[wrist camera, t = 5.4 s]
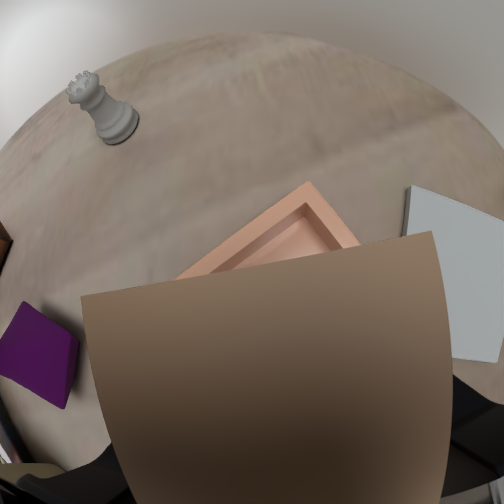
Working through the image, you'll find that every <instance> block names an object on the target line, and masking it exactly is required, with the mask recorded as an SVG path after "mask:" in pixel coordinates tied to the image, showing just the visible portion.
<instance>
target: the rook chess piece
mask: <svg viewBox="0 0 504 504" xmlns="http://www.w3.org/2000/svg"><path fill="white" fill-rule="evenodd" d="M83 75H84V76H82V75H81V74H78V75H77V76H76V79H77V81H76V82H75V83H74V82H73V81H71V82H70V83H69V85H68V86H69V87H70V88H71V89H70V88H68V89H66V93H67V94H68V95H69V102H70V103H71V104H76V103H79V104H80V108H81V109H82V110H86V111H87V112H88V113H89V114H90V116H91V117H92V118H93V120H94V122H95V127H96V131H97V134H98V135H99V137H100V138H101V139H102V140H103V141H104V142H105V143H107V144H115V143H119V142H122V141H123V140H125V139H126V138H128V137H129V136H130V135H131V134H132V133H133V131H134V129H135V127H136V125H137V120H138V114H137V111H136V110H135V109H133V108H132V106H131V105H129V104H128V103H126V102H121V101H116V100H115V99H113V98H112V97H111V96H109V95H108V94H107V92H106V91H105V87H104V86H103V85H99V76H98V75H97V74H91V73H90V72H88V71H84V72H83Z"/></svg>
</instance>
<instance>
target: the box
mask: <svg viewBox="0 0 504 504" xmlns="http://www.w3.org/2000/svg"><path fill="white" fill-rule="evenodd" d="M359 245H361V244H360V243H359V242H358V240H357V239H356V238H355V237H354V235H353V234H352V233H351V231H350V230H349V229H348V228H347V226H346V225H345V224H344V223H343V221H342V220H341V219H340V218H339V216H338V215H337V214H336V213H335V211H334V210H333V209H332V208H331V207H330V205H329V204H328V203H327V202H326V201H325V199H324V198H323V197H322V196H321V195H320V193H319V192H318V191H317V190H316V189H315V188H314V186H313V185H312V184H311V183H310V182H309V181H307V182H305V183H304V184H303V185H301V186H300V187H298V188H297V189H296V190H294V191H293V192H291V193H290V194H289V195H287V196H286V197H284V198H283V199H282V200H280V201H279V202H277V203H276V204H275V205H273V206H272V207H271V208H269V209H268V210H266V211H265V212H264V213H262V214H261V215H260V216H258V217H257V218H255V219H254V220H253V221H251V222H250V223H249V224H247V225H246V226H245V227H243V228H242V229H240V230H239V231H238V232H236V233H235V234H234V235H232V236H231V237H230V238H228V239H227V240H226V241H224V242H223V243H222V244H220V245H219V246H218V247H216V248H215V249H214V250H212V251H211V252H210V253H208V254H207V255H206V256H204V257H203V258H202V259H200V260H199V261H198V262H196V263H195V264H194V265H192V266H191V267H190V268H189V269H187V270H186V271H185V272H183V273H182V274H181V275H179V276H178V277H177V278H175V279H174V280H179V279H185V278H191V277H196V276H202V275H207V274H213V273H218V272H224V271H229V270H235V269H240V268H245V267H251V266H256V265H261V264H267V263H272V262H277V261H282V260H288V259H293V258H298V257H303V256H308V255H313V254H319V253H324V252H329V251H334V250H339V249H344V248H349V247H354V246H359ZM174 280H173V281H174Z"/></svg>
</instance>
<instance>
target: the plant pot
mask: <svg viewBox="0 0 504 504" xmlns="http://www.w3.org/2000/svg"><path fill="white" fill-rule="evenodd" d="M27 473H30V474H33V475H35V476H37V477H39V478H49V477H53V476H56V475H59V474H62V473H65V471H64V470H63V469H61V468H60V467H58V466H56V465H54V464H50V463H1V464H0V477H1V478H3V479H5V480H7V481H9V482H11V483H13V484H15V483H16V481H17V480H18V479H19V478H20V477H22V476H23V475H25V474H27ZM15 485H16V484H15Z"/></svg>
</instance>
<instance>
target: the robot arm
mask: <svg viewBox="0 0 504 504" xmlns="http://www.w3.org/2000/svg"><path fill="white" fill-rule="evenodd" d="M15 484H16V485H15ZM15 484H13V483H11V482H9V481H7V480H5V479H3V478H1V477H0V504H137V502H136V500H135V498H134V496H133V494H132V492H131V490H130V487H129V485H128V483H127V481H126V478H125V476H124V474H123V471H122V469H121V466H120V464H119V461H118V458H117V456H116V453H115V450H114V448H113V445H112V442H111V443H110V445H109V446H108V447H107V448H106V449H105V451H104V452H103V453H102V454H101V455H100V456H99V457H98V458H97V459H95V460H94V461H93V462H91V463H89V464H87V465H84V466H81V467H79V468H76V469H73V470H71V471H68V472H65V473H62V474H59V475H56V476H53V477H49V478H39V477H37V476H35V475H33V474H30V473H27V474H25V475H23V476H22V477H20V478H19V479H18V480H17V481H16V483H15ZM439 504H504V405H502V404H498V403H495V402H492V401H490V400H488V399H487V398H485V397H484V396H482V395H481V394H479V393H478V392H477V391H475V390H474V389H473V388H471V387H470V386H468V385H467V384H466V383H464V382H463V381H461V380H460V379H459V378H457V377H456V376H455V375H453V401H452V422H451V435H450V445H449V453H448V460H447V467H446V473H445V478H444V484H443V488H442V493H441V497H440V502H439Z"/></svg>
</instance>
